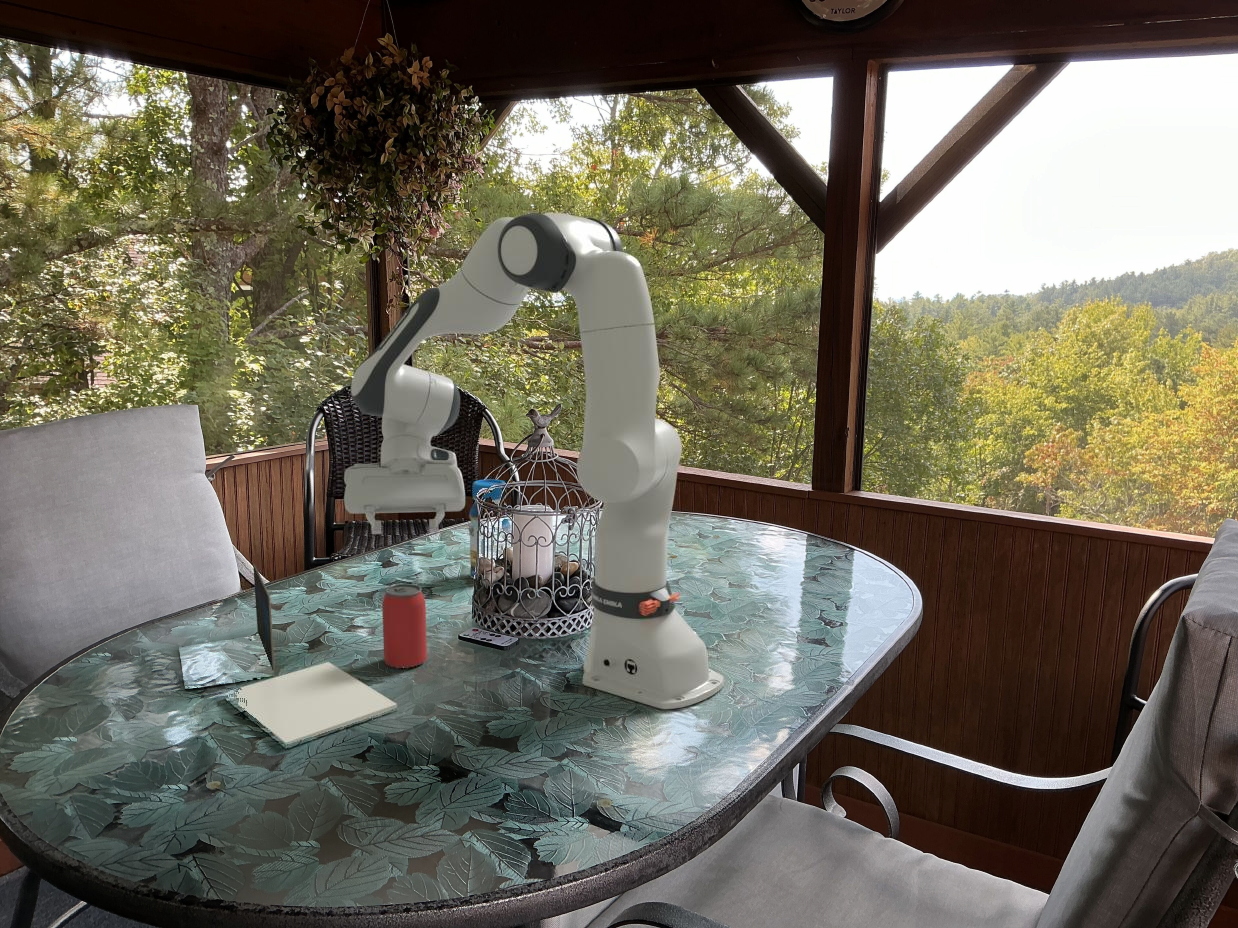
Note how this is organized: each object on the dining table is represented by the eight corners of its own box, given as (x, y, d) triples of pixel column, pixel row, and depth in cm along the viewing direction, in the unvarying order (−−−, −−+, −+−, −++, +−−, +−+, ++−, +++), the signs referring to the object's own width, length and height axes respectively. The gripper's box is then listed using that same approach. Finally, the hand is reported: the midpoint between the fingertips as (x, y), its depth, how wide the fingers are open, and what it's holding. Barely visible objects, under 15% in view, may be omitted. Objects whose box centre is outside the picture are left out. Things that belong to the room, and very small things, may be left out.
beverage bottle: (503, 584, 180) (502, 487, 176) (463, 581, 182) (461, 485, 178) (516, 572, 188) (515, 479, 184) (478, 569, 190) (476, 477, 186)
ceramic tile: (397, 710, 125) (396, 703, 125) (286, 749, 114) (285, 742, 114) (328, 667, 139) (328, 661, 139) (223, 699, 128) (223, 692, 128)
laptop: (178, 650, 146) (171, 573, 143) (260, 637, 151) (255, 563, 149) (184, 694, 130) (177, 608, 128) (276, 677, 136) (271, 595, 133)
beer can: (409, 650, 146) (407, 579, 144) (435, 661, 142) (433, 588, 140) (375, 662, 141) (372, 589, 139) (401, 673, 137) (399, 599, 135)
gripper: (343, 454, 154) (338, 523, 146) (464, 452, 157) (466, 520, 150) (346, 474, 159) (342, 542, 151) (463, 472, 163) (465, 539, 155)
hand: (405, 531), depth 151 cm, fingers open, 8 cm apart
